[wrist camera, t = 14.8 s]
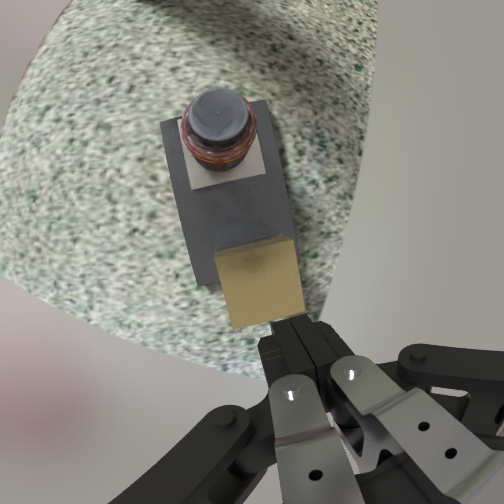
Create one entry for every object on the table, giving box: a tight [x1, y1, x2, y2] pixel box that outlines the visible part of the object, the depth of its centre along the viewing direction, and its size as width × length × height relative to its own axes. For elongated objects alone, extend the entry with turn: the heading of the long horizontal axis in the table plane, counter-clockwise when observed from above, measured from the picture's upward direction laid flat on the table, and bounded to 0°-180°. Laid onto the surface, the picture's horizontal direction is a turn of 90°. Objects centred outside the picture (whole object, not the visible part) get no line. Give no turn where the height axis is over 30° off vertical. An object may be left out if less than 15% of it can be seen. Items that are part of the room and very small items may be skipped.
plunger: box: [214, 235, 305, 330], centre depth 23 cm, size 5×5×12 cm
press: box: [160, 100, 300, 287], centre depth 25 cm, size 19×12×12 cm, turn 12°
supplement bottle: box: [181, 87, 258, 172], centre depth 21 cm, size 6×6×11 cm
